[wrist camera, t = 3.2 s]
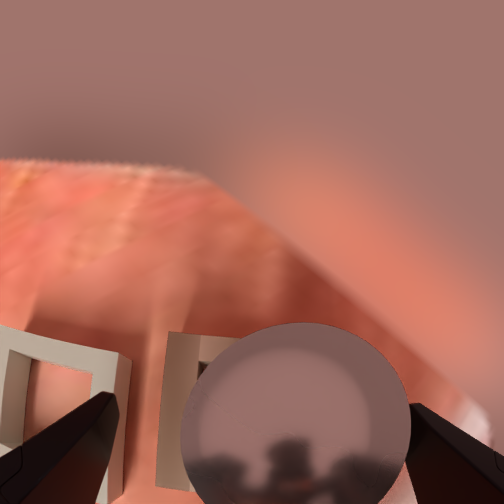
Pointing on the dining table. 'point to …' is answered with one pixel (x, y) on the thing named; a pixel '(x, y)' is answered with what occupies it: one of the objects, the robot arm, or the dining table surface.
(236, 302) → the dining table surface
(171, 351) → the beige square ring
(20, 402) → the square hollow frame
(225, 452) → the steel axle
